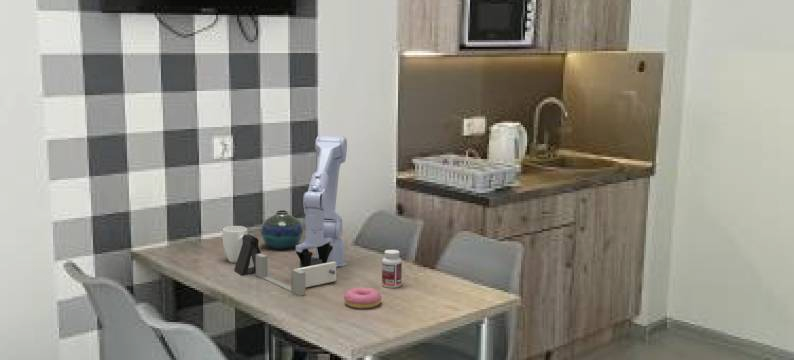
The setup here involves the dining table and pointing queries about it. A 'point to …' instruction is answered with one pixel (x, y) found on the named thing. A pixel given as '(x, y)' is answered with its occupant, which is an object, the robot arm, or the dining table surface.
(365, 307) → the doughnut
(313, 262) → the dark grey block
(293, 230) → the vase
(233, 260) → the mug
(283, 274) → the dining table surface
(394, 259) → the pill bottle
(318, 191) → the robot arm
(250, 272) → the phone stand
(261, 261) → the grey u-shaped bar
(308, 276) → the door
